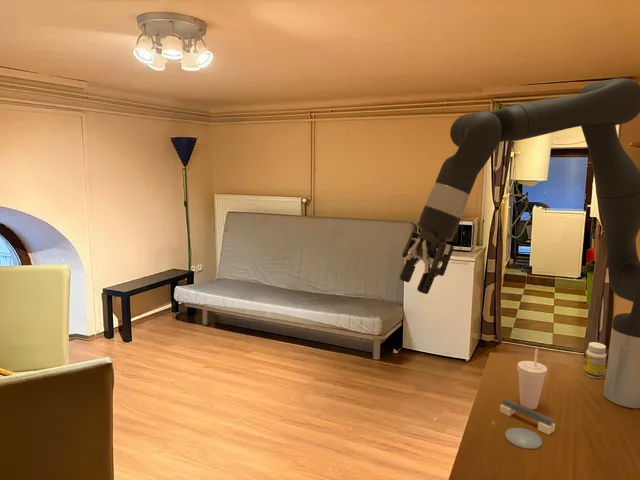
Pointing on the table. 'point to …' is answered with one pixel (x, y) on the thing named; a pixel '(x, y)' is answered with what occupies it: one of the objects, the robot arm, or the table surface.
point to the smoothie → (531, 381)
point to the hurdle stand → (541, 426)
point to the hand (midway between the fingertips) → (412, 286)
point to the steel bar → (528, 412)
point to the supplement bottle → (595, 360)
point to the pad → (523, 438)
